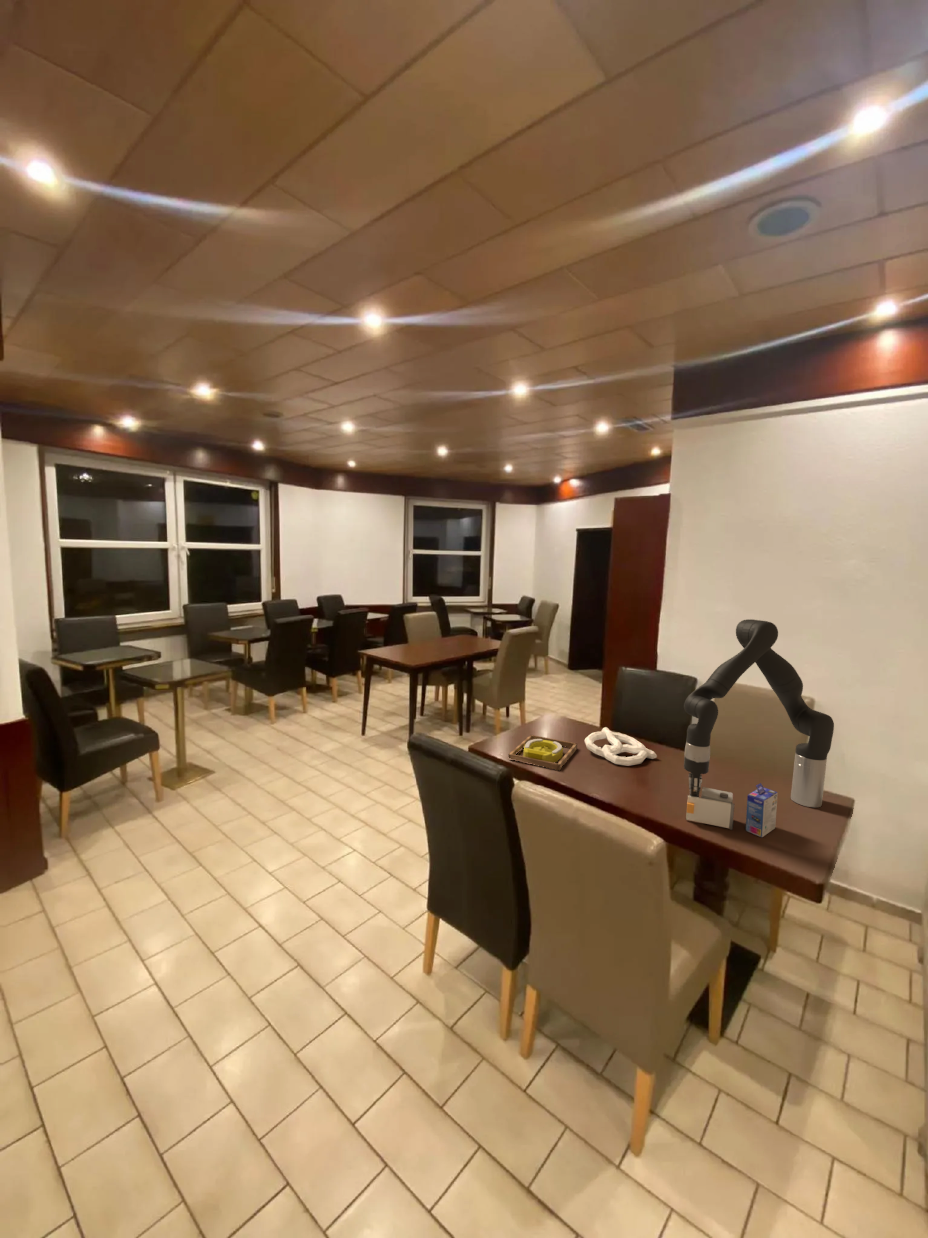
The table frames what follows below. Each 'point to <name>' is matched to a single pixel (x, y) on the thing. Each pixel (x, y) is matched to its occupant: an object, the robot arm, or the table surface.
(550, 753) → the ashtray
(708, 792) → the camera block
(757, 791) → the ink cartridge box
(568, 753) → the wooden tray
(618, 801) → the table surface
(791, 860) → the table surface
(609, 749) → the pretzel
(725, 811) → the door
